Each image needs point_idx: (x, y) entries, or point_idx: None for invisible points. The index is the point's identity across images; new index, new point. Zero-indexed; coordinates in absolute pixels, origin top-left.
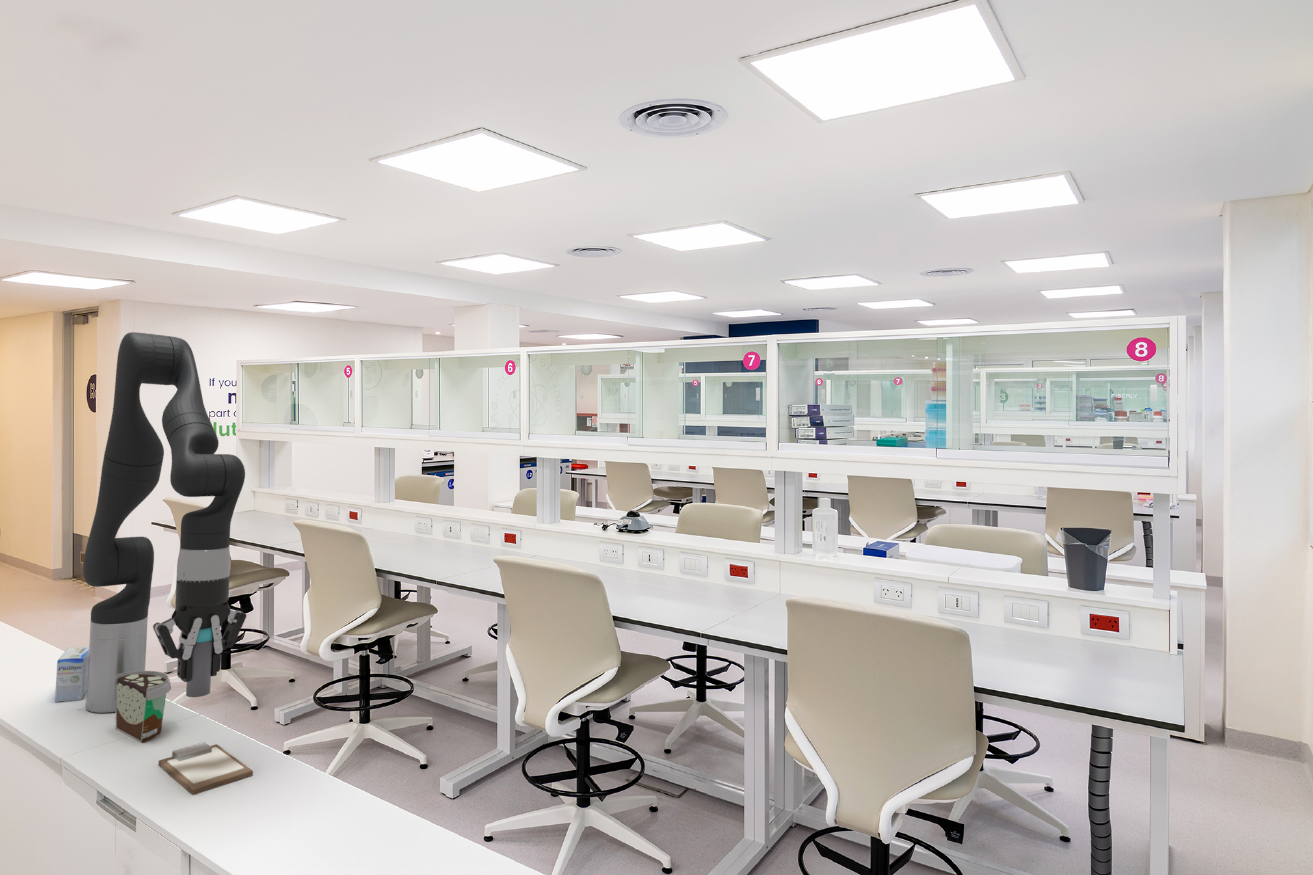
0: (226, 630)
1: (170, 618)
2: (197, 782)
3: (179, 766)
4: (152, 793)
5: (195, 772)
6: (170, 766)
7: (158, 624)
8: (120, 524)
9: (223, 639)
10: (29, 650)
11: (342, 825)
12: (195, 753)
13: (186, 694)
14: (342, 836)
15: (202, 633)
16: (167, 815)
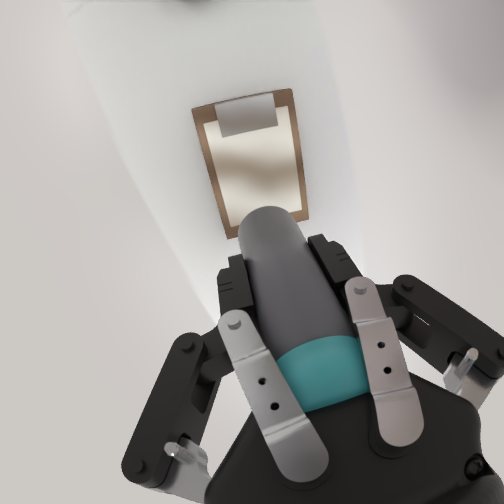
0: (432, 324)
1: (199, 502)
2: (235, 225)
3: (219, 157)
4: (178, 208)
5: (238, 191)
6: (206, 145)
7: (150, 488)
8: None
9: (402, 308)
10: None
11: None
12: (249, 131)
13: (238, 238)
14: None
15: None
16: (195, 271)
